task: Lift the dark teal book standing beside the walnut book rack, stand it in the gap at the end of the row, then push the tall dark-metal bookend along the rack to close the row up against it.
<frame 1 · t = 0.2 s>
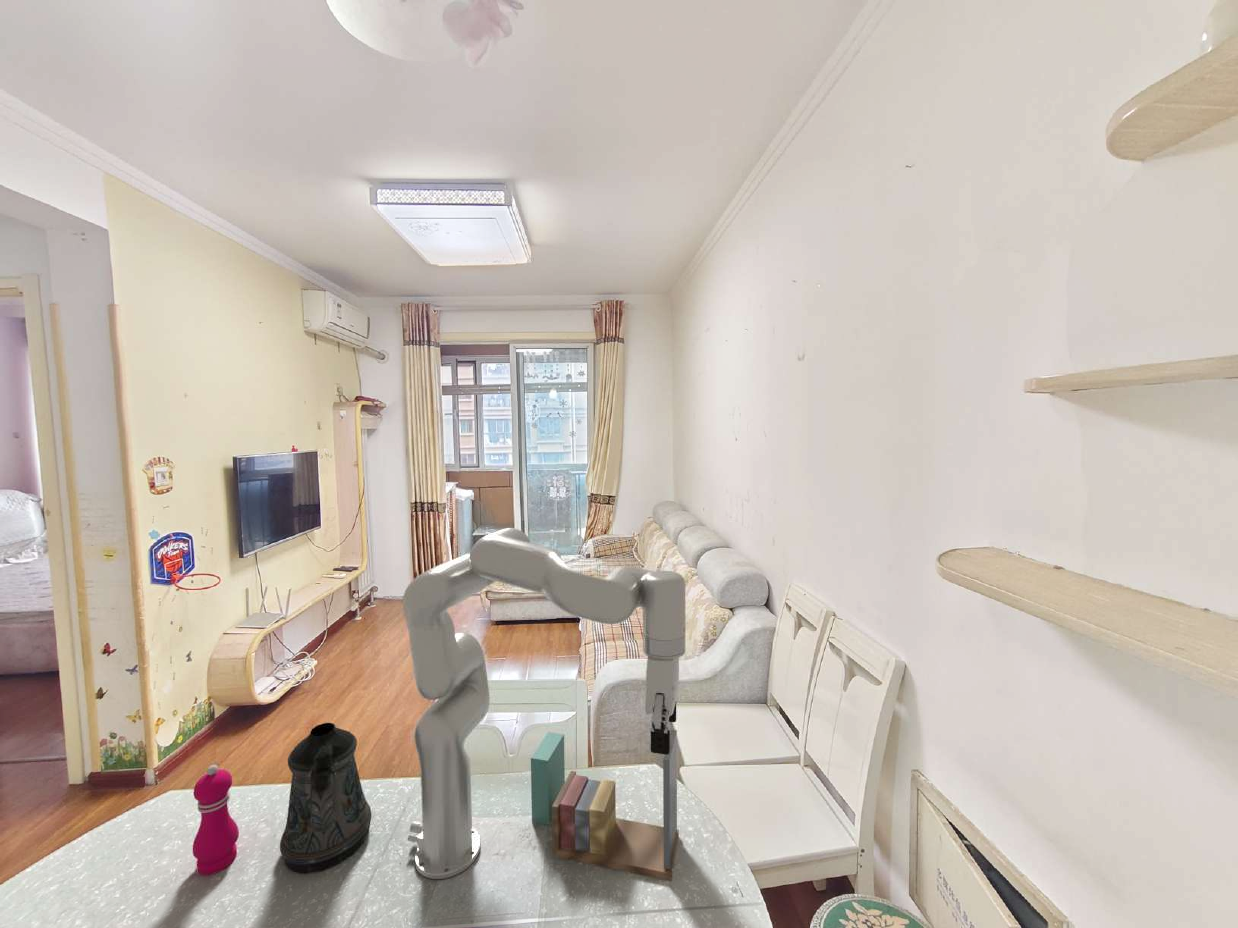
hand: (664, 735, 90), 31 cm above the table, fingers open, 9 cm apart
bookend: (670, 796, 100), point 13 cm above the table, slide at 0.0 cm
pepper mill: (217, 862, 101), on the table
loose book: (549, 806, 115), on the table
book rack: (617, 845, 104), on the table
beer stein: (331, 845, 105), on the table
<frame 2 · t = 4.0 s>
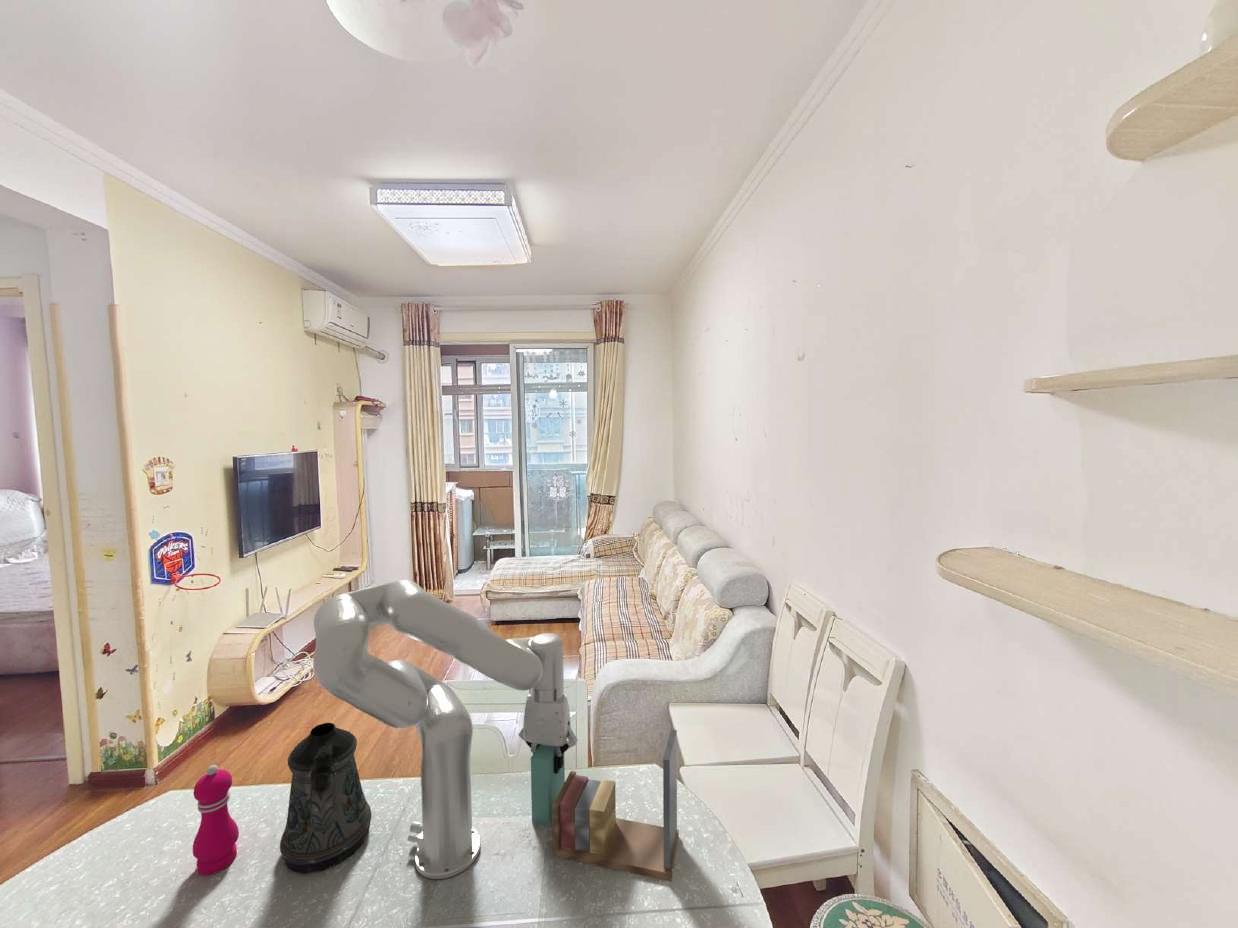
hand: (548, 767, 114), 9 cm above the table, fingers closed on loose book, 4 cm apart
loose book: (549, 806, 115), on the table, touching gripper
everything else where it was.
when the fingers open (12 cm above the table, at t = 11.2 s): loose book drops 1 cm, resting on book rack.
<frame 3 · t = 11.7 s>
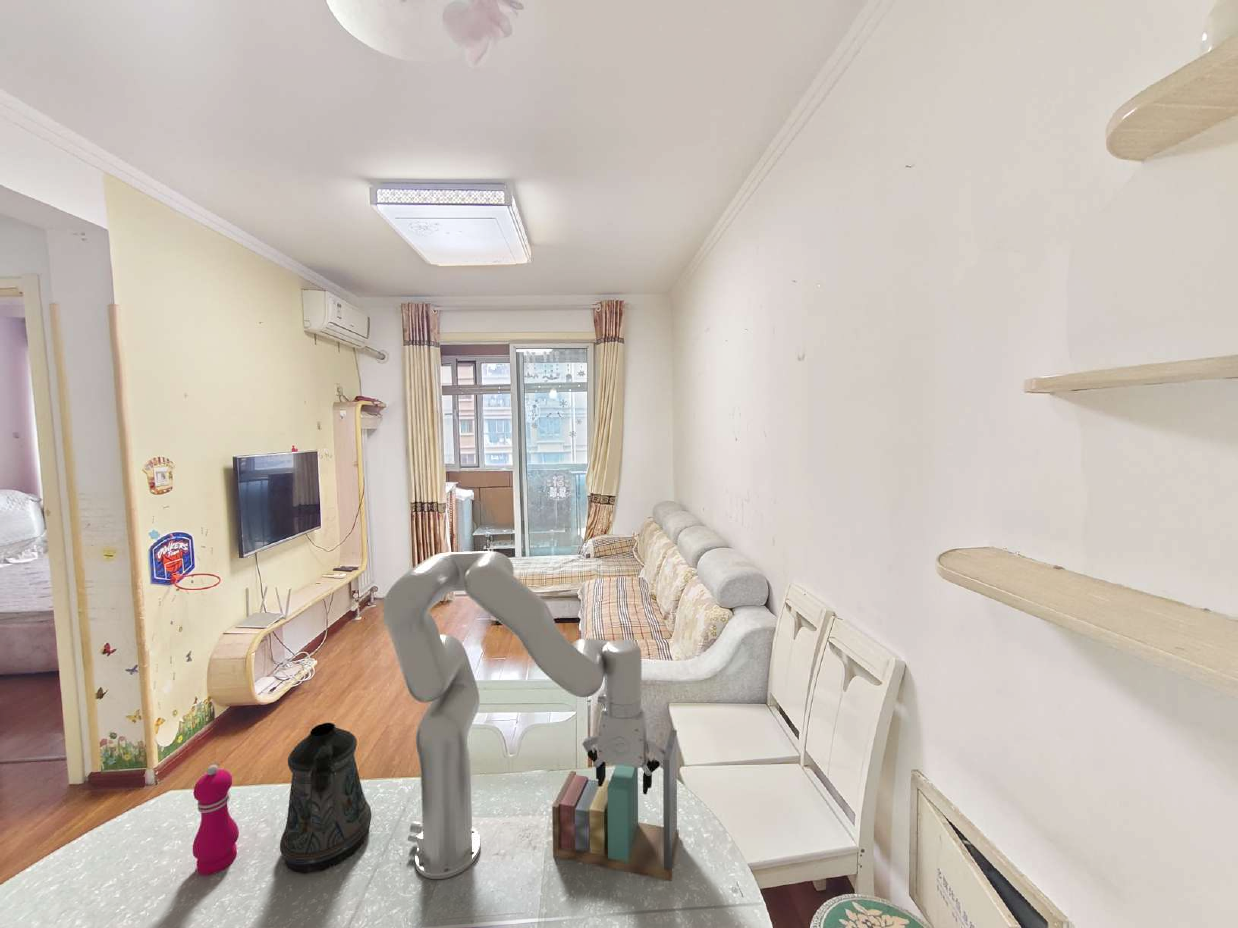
hand: (623, 785, 103), 13 cm above the table, fingers open, 9 cm apart
loose book: (623, 840, 103), point 1 cm above the table, touching book rack
everything else where it was.
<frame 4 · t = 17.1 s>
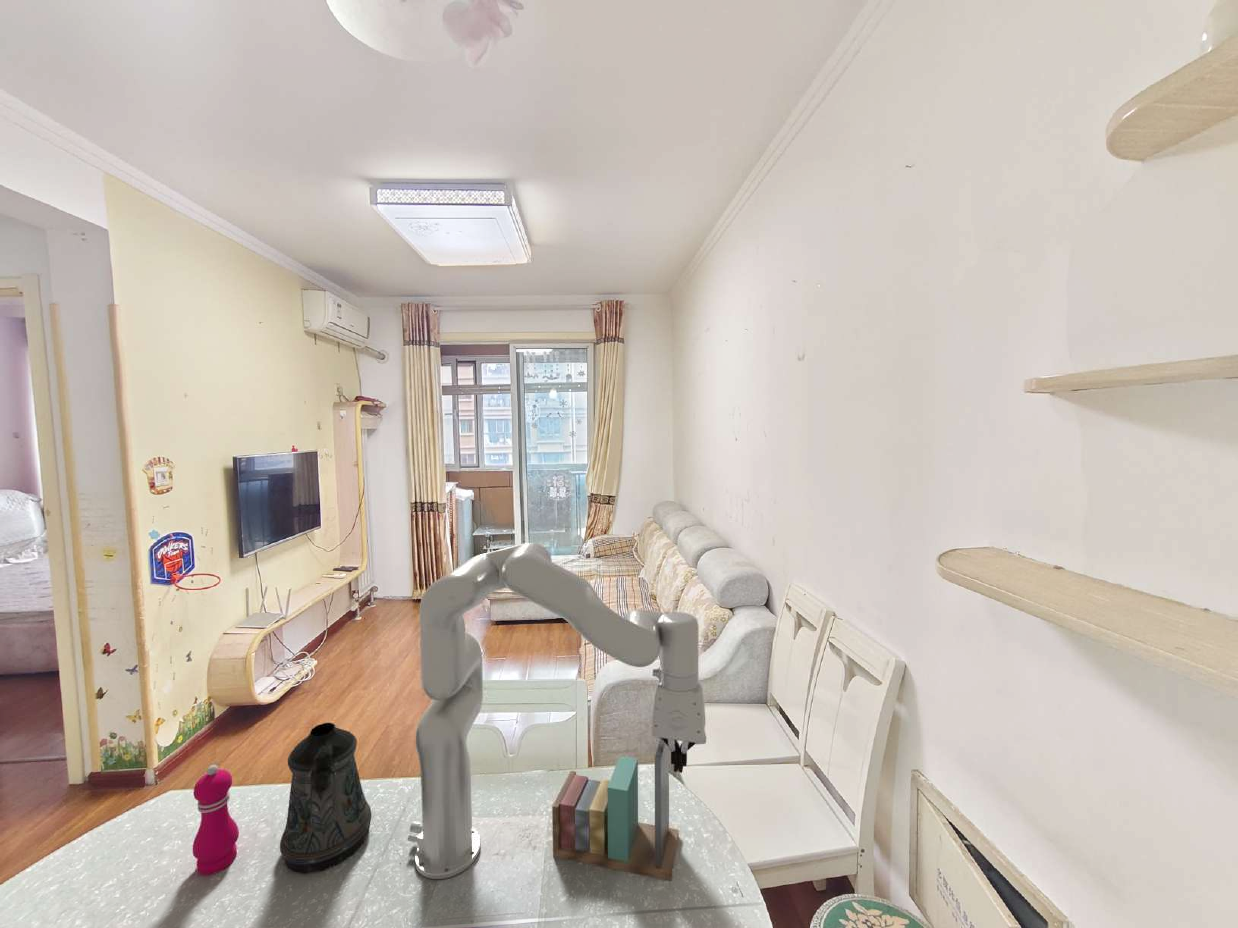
hand: (678, 767, 100), 19 cm above the table, fingers closed
bookend: (662, 794, 101), point 13 cm above the table, slide at 1.7 cm, touching gripper
everything else where it was.
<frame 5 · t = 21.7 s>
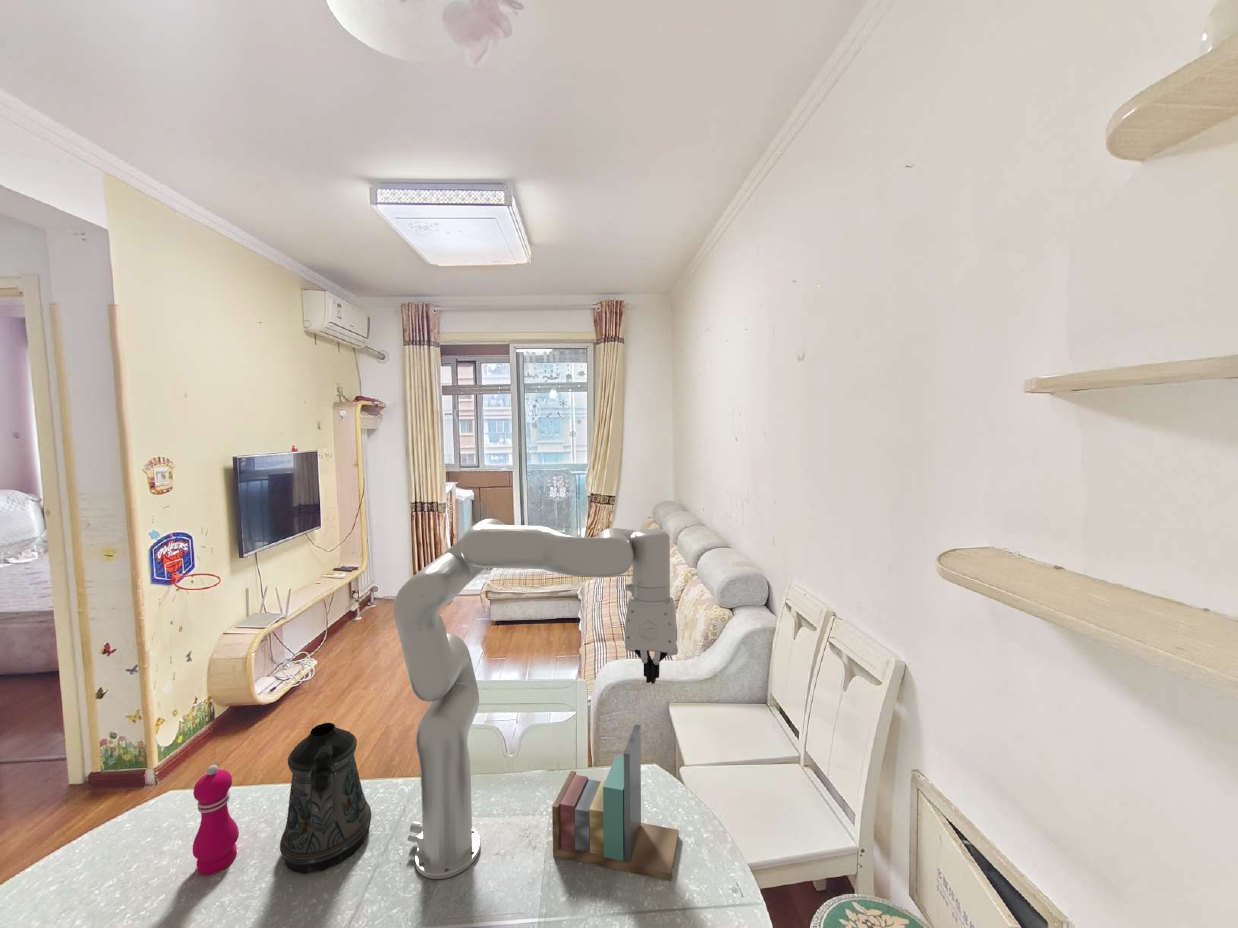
hand: (651, 680, 102), 35 cm above the table, fingers closed
bookend: (632, 789, 102), point 13 cm above the table, slide at 7.7 cm
everything else where it was.
at the end: bookend slide at 7.7 cm; loose book 0.1 cm from the target spot, point 1.5 cm above the table; loose book tilted 0° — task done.
